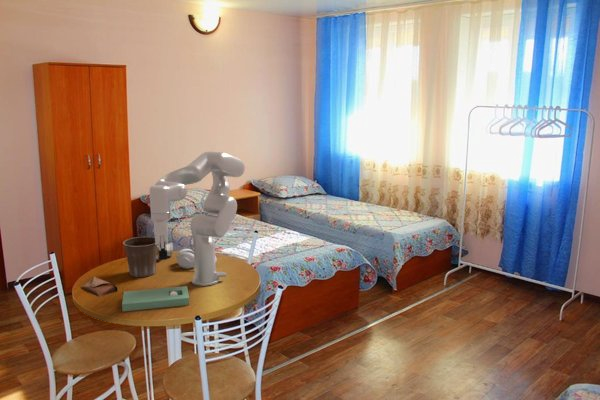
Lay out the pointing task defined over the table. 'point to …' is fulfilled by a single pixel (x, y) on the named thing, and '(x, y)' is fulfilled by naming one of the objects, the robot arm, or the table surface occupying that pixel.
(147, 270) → the plant pot
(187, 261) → the headphones
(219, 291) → the table surface
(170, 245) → the ceramic sculpture
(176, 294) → the ball
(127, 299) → the green board
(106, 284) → the sunglasses case
